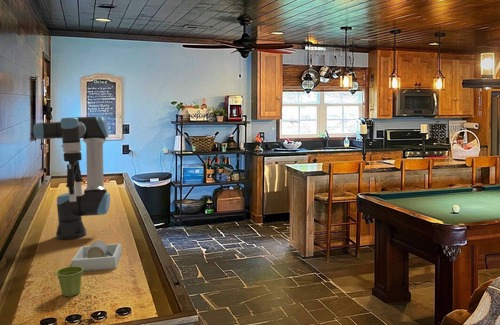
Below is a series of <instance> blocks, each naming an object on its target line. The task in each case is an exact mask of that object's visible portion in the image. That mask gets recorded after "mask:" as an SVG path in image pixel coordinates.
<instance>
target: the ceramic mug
mask: <svg viewBox="0 0 500 325" xmlns="http://www.w3.org/2000/svg"><path fill="white" fill-rule="evenodd" d="M89 246H90V248H89V250H88V254H87V256H88V258H99V257H108V256H106V255H109V256H113V254H112V253H111V252H109V251H108V247H107V244H106V243H105V242H104V241H102V240H95V241H94V242H92V243H91V245H89Z"/></svg>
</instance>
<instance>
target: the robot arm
mask: <svg viewBox="0 0 500 325" xmlns="http://www.w3.org/2000/svg"><path fill="white" fill-rule="evenodd" d="M32 128H33V129H32V131H33V132H32V134H33V135H34V138H35V139H37V140H50V139H52V140H53V139H61V141H62V144H61V147H62V149H63V151H62V152H64V153H63V160H64V162H68V163H67V165H66V168H67V169H66V185H65V187H66V188H68V192H65V193H63V194H62V193H61V194H60V195H57V198H56V206H57V207H56V209H57V217H58V218H57V219H58V220H57V221H58V225H57V228H56V232H55V237H56V239H57V240H75V239H79V238H82V237H85V236H86V235H87V229H86V227H85V224H84V222H83V219H82V217H89V216H92V217H93V216H102V215H106V214H108V212H109V210H110V205H111V195H110V192H108V191H107V188H106V187H105V186H104V185H105V184H104V182H105V181H104V143H105V142H106V138H109V136H110V135H109V134H110V133H109V127H108V123H107V120H106V118H105V117H104V116H96V115H95V116H78V117H77V116H76V117H62V118H61V119H60V120H59V121H53V122H52V121H51V122H36V123H35V124H34V125H33V127H32ZM81 139H82V140H83V143H85V144H86V145H85V147H86V149H85V150H86V153H85V154H86V188H84V190H83V186H82V182H83V181H84V179H83V177H82V172H81V168H80V167H81V166H80V161H82V152H81V151H82V146H81V145H82V144H81Z"/></svg>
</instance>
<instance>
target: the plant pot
mask: <svg viewBox="0 0 500 325" xmlns="http://www.w3.org/2000/svg"><path fill="white" fill-rule="evenodd" d="M82 271H83V268H82V267H79V266H72V265H71V266H67V267H66V266H65V267H62V268H60V269H58V270H56V271H55V275H56V276H57V278H58V281H59V286H60V290H61V295H62V296H63V297H66V296H68V297H73V296H75V295H79V294H80V293H81V289H82V288H81V286H82V285H81V284H82V275H83V272H84V271H83V272H82Z"/></svg>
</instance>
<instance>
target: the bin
mask: <svg viewBox="0 0 500 325" xmlns="http://www.w3.org/2000/svg"><path fill="white" fill-rule="evenodd" d="M106 245H107V247H108V251H109V252H111V253H112V254H113V256H109V255H106V256H108V257H99V258H88V256H87V254H88V250H89V248H90V246H91V245H84V246H83V245H82V246H80V247H79V249H78V250H77V252H76V254H75V255H74V257H73V258H72V259H71V266H79V267H82V268H83V271H82V273H83V272H93V271H95V272H96V271H103V270H106V271H107V270H116V269H117V267H118V265H119V262H120V259H121V256H122V243H111V244H110V243H109V244H108V243H107V244H106Z"/></svg>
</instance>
